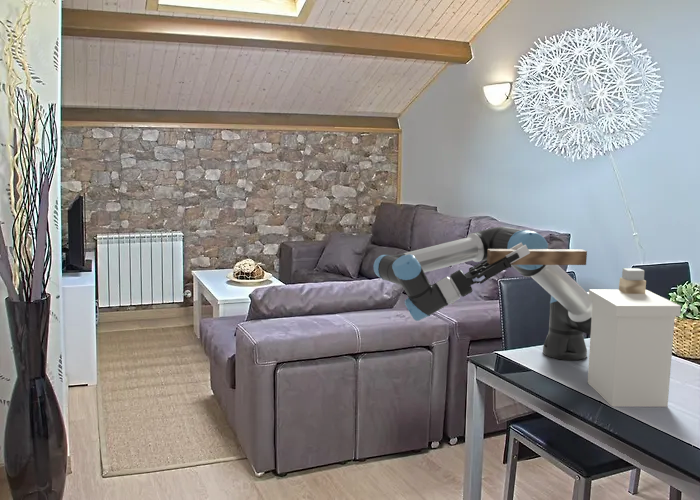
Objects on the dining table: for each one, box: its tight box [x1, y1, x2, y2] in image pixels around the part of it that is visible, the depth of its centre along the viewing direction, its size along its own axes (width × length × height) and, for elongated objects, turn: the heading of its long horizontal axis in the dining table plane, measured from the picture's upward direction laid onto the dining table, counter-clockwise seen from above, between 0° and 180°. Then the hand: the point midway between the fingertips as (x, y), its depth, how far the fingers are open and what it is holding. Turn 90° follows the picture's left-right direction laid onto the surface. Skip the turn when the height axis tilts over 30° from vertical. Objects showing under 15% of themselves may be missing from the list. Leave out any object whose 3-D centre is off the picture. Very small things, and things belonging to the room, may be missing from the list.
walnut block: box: [487, 248, 588, 266], centre depth 198 cm, size 28×4×4 cm, turn 90°
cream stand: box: [587, 288, 682, 408], centre depth 203 cm, size 18×22×30 cm
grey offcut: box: [621, 267, 645, 280], centre depth 207 cm, size 5×4×3 cm
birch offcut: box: [618, 277, 647, 294], centre depth 208 cm, size 6×5×4 cm
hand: (525, 247), depth 198 cm, fingers closed on walnut block, 4 cm apart
